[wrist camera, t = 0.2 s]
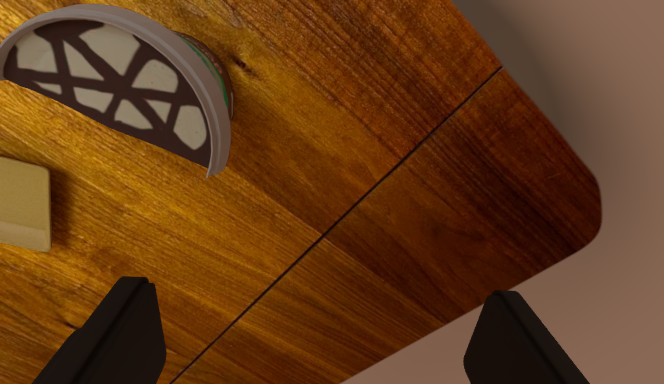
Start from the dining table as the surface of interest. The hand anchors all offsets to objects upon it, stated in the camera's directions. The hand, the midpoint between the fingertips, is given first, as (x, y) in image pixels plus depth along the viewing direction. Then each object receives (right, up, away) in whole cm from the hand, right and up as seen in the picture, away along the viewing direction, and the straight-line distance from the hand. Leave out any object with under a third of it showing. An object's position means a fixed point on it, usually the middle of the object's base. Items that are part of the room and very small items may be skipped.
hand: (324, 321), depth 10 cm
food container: (-11, +14, +16) cm, 24 cm away
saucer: (-28, +4, +20) cm, 35 cm away
